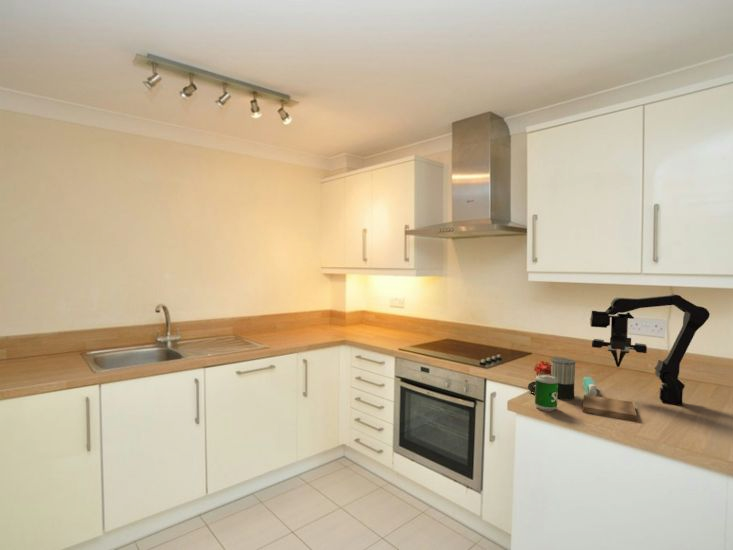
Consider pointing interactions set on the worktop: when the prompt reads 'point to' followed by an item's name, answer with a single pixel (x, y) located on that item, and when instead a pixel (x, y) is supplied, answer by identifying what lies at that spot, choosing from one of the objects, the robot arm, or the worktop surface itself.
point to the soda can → (546, 392)
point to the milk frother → (562, 377)
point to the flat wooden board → (609, 407)
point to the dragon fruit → (542, 368)
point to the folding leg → (589, 386)
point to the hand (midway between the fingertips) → (618, 366)
